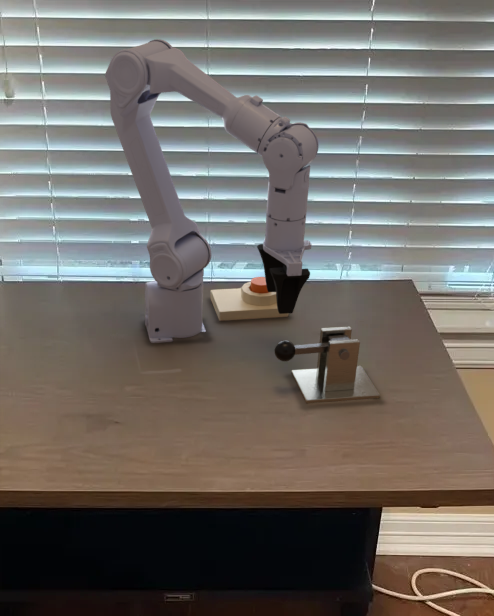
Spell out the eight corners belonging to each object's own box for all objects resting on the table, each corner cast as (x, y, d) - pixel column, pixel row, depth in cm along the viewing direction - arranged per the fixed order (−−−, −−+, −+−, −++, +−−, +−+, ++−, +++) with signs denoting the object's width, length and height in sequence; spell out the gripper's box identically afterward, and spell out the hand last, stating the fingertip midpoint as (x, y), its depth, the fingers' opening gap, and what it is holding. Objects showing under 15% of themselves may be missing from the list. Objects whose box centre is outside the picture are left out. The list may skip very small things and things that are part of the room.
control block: (219, 321, 156) (219, 302, 154) (210, 298, 163) (210, 280, 161) (288, 316, 157) (290, 297, 155) (276, 294, 164) (277, 276, 162)
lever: (276, 366, 132) (277, 347, 130) (272, 356, 134) (272, 337, 133) (350, 359, 133) (352, 340, 131) (344, 349, 135) (346, 331, 134)
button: (252, 295, 157) (253, 285, 156) (248, 286, 160) (248, 277, 159) (273, 294, 157) (274, 284, 156) (268, 285, 160) (269, 276, 159)
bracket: (305, 406, 133) (311, 352, 128) (290, 375, 140) (295, 323, 135) (379, 400, 134) (387, 346, 129) (360, 370, 142) (367, 318, 136)
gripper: (326, 231, 127) (317, 321, 135) (301, 196, 139) (294, 280, 146) (276, 233, 126) (270, 323, 134) (255, 198, 138) (250, 283, 146)
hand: (279, 301), depth 140 cm, fingers open, 7 cm apart
